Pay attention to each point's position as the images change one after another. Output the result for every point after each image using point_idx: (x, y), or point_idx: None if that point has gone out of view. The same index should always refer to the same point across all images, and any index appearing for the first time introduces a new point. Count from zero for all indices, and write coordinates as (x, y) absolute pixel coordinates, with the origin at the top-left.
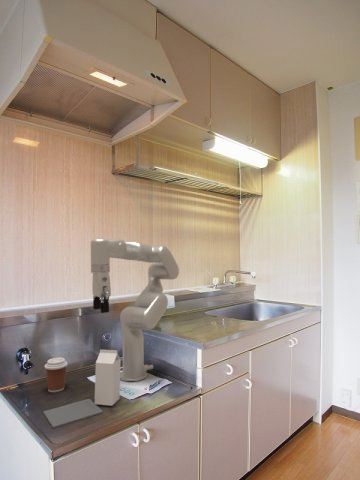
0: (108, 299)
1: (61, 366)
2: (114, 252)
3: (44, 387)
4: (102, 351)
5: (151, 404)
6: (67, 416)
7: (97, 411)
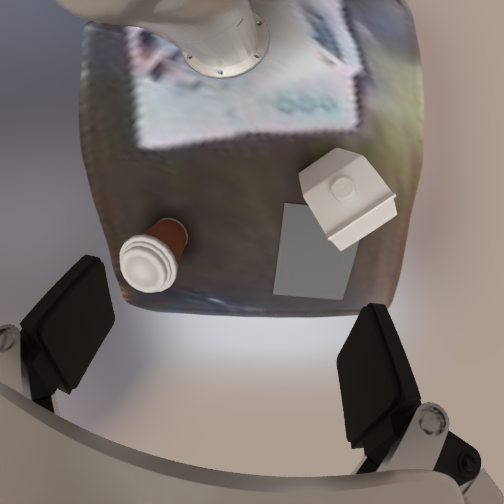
0: (464, 443)
1: (174, 264)
2: None
3: None
4: (337, 231)
5: (409, 115)
6: (328, 271)
7: None
